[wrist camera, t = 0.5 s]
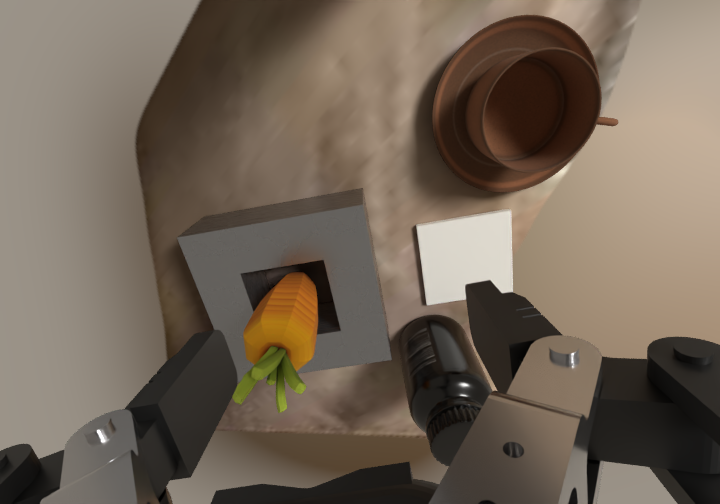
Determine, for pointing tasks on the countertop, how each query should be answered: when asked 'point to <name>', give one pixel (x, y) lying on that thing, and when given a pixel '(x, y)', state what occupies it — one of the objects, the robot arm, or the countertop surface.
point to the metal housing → (289, 247)
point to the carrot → (281, 337)
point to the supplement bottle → (442, 382)
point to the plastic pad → (465, 254)
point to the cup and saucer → (517, 103)
